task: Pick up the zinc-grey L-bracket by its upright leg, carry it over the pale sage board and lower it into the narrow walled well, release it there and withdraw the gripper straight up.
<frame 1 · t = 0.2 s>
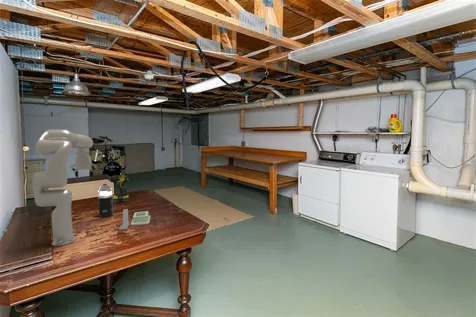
hand: (84, 176, 186), 31 cm above the table, fingers open, 9 cm apart
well: (141, 220, 182), on the table
bracket: (124, 227, 169), on the table
power drill: (119, 201, 231), on the table
black silver cylindrical canister: (106, 215, 193), on the table
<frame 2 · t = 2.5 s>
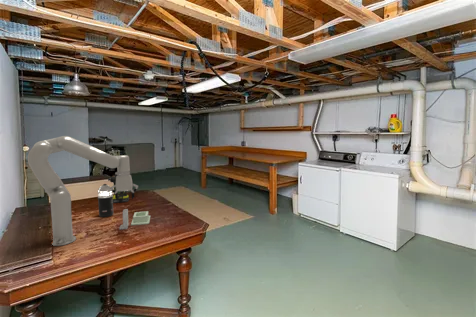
hand: (125, 198, 167), 20 cm above the table, fingers open, 9 cm apart
nothing on the table moved.
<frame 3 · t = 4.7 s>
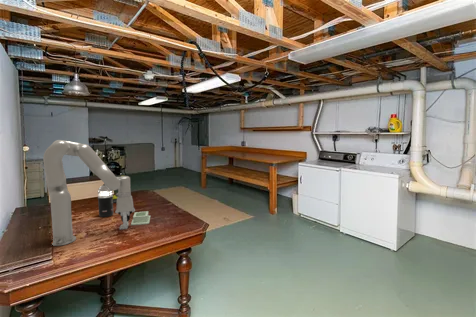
hand: (125, 220, 169), 5 cm above the table, fingers closed on bracket, 2 cm apart
bracket: (124, 227, 169), on the table, touching gripper
everything else where it was.
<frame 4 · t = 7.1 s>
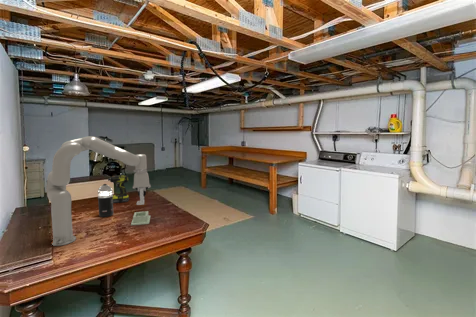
hand: (142, 196, 181), 18 cm above the table, fingers closed on bracket, 2 cm apart
bracket: (140, 203, 181), point 13 cm above the table, touching gripper
everything else where it was.
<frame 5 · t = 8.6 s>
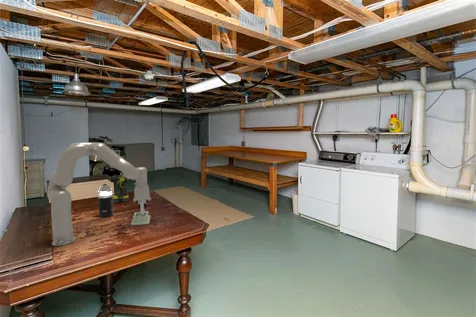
hand: (142, 208, 182), 9 cm above the table, fingers closed on bracket, 2 cm apart
bracket: (141, 216, 182), point 3 cm above the table, touching gripper
everything else where it was.
when the fingers open (7 cm above the table, at t = 9.4 s): bracket stays where it is, resting on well.
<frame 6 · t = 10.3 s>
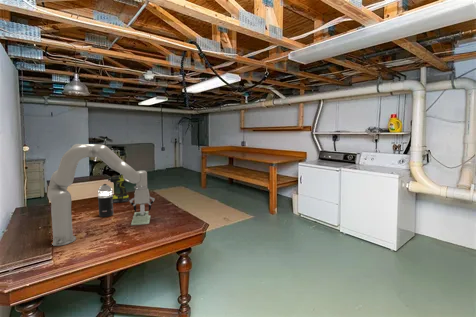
hand: (142, 210, 182), 8 cm above the table, fingers open, 9 cm apart
bracket: (141, 219, 182), point 1 cm above the table, touching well
everything else where it was.
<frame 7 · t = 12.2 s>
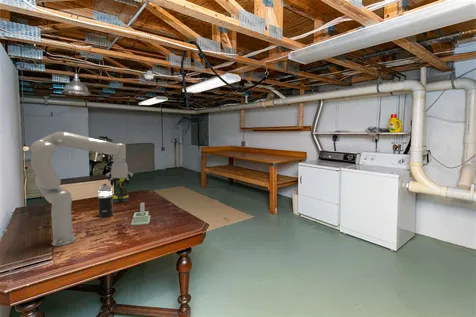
hand: (119, 185, 173), 28 cm above the table, fingers open, 9 cm apart
nothing on the table moved.
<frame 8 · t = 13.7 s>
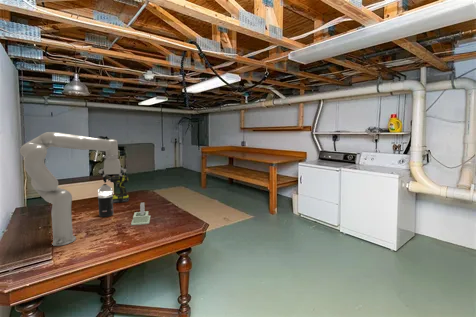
hand: (113, 182, 172), 30 cm above the table, fingers open, 9 cm apart
nothing on the table moved.
at the end: bracket 0.0 cm off-centre on the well, point 0.8 cm above the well's base; bracket tilted 0°; the gripper is holding nothing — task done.
